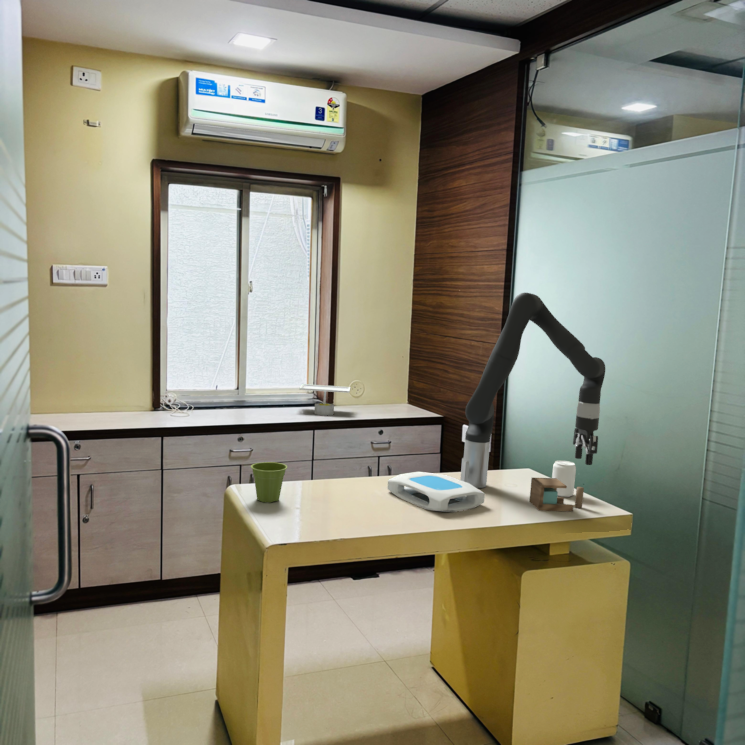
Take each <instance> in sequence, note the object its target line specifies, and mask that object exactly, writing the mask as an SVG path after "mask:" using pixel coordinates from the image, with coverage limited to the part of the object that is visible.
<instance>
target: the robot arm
mask: <svg viewBox="0 0 745 745" xmlns="http://www.w3.org/2000/svg"><path fill="white" fill-rule="evenodd" d="M529 322H532V323H534V324H535V325H536V326H537V327H538V328H540V329H541V330H542V331H543V333H545V335H546V336H547V337H548V339H549V340H550V342H551V343H552V344H553V346H554V347H555V348H556V349H557V350H558V351H559V352H560V353H561V354H563V356H564V357H565V358H567V359H568V360H569V361H570V363H571V364H572V365H573V367H574V368H575V370H576V371H577V372H578V373H579V374H580V375H581V376H582V377H583V382H582V385H581V386H580V388H579V392H578V393H579V394H578V401H577V407H576V413H575V414H576V415H575V423H574V424H575V428H574V431H573V439H572V444H573V445H574V448H575V452H574V458H575V459H577V460H580V459H582V458H583V448H584V449H585V462H584V464H585V465H587V466H592V465H593V460H594V459H593V457H594V455H596V454H598V445H599V436H598V435H594V434H595V431H598V429H599V424H600V422H599V421H600V412H601V407H600V406H601V396H602V393H601V392H602V387H603V384H604V379H605V376H606V375H605V374H606V364H605V362H604V360H603V359H602V358H599V357H596V356H595V357H593V356H592V355H591V354H590V353H589V352H588V351H587V350H586V347H585V345H584V344H583V342H581V341H580V340H579V338H577V337H576V336H575V335H574V334H573V333H572V332H570V330H568V328H566V326H564V325H563V324H562V323H561V322H560V321H559V320H558V319H557V317H555V316H554V315H553V314H552V312H551V311H550V309H549V308H548V306H546V305H545V303H544V302H543V300H542V298H540V297H539V296H538V295H537V294H534V293H531V292H521V293H519V294H518V295H516V296H515V297H514V299H513V300H512V303H511V306H510V309H509V312H508V316H507V318H506V321H505V324H504V326H503V328H502V330H501V333H500V334H499V336H498V339H497V341H496V343H495V345H494V347H493V348H492V351H491V354H490V355H489V358H488V360H487V363H486V365H485V368H484V370H483V373H482V375H481V378H480V380H479V383H478V384H477V387H476V388H475V391H474V392H473V394H472V395H471V397H470V399H469V401H468V402H467V404H466V406H465V413H464V414H465V417H466V419H467V420H468V426H467V429H466V432H465V436H464V448H463V449H464V450H463V457H462V458H461V468H460V469H461V470H460V479H459V480H461V481H464V482H467V483H469V484H471V485H472V486H474V487H476V488H477V489H484V488H486V487H487V482H488V470H489V459H490V458H489V457H490V444H491V436H492V433H493V429H494V420H495V406H494V403H493V402H494V401H495V398H496V395H497V393H498V392H499V390H500V389H501V388H502V386H503V384H504V383H505V381H506V380H507V379H508V378H509V376H510V375H511V372H512V371H513V368H514V366H515V365H516V361H517V360H518V357H519V354H520V349H521V342H522V337H523V333H524V331H525V329H526V327H527V325H528V324H529Z"/></svg>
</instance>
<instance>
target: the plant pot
mask: <svg viewBox="0 0 745 745" xmlns="http://www.w3.org/2000/svg"><path fill="white" fill-rule="evenodd" d="M250 468H251V469H252V475H253V478H254V485H255V495H256V500H257V501H260V502H261V503H273V502H278V501H279V500H280V497H281V491H282V486H283V481H284V476H285V473H286V470H287V469H288V465H287V464H284V463H282V462H281V463H280V462H276V461H275V462H274V461H269V462H268V461H264V462H256V463H253V464H251V465H250Z"/></svg>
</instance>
